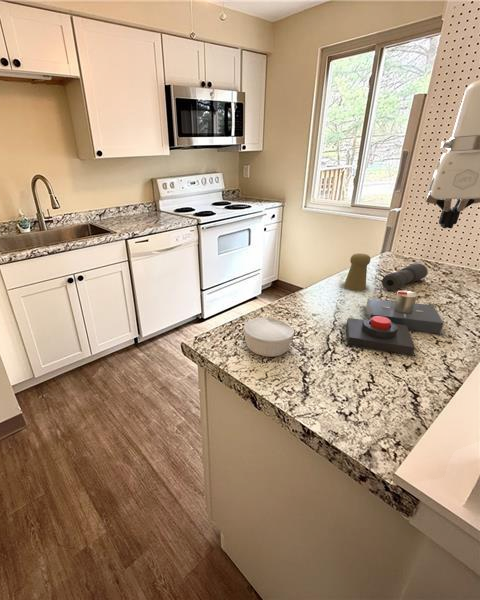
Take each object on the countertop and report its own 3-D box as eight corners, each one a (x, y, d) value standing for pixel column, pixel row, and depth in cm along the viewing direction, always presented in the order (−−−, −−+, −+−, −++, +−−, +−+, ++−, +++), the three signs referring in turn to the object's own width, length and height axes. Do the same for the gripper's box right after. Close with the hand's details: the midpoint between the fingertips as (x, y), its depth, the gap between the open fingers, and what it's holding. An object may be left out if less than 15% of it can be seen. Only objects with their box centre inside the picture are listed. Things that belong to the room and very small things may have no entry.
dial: (410, 307, 80) (415, 290, 78) (414, 314, 77) (419, 296, 75) (391, 305, 82) (396, 288, 80) (394, 311, 79) (398, 294, 77)
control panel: (429, 315, 81) (433, 304, 80) (439, 334, 74) (444, 322, 72) (365, 307, 88) (367, 297, 87) (368, 324, 80) (371, 313, 79)
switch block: (404, 333, 75) (408, 318, 74) (412, 355, 68) (417, 340, 66) (346, 324, 81) (349, 311, 79) (347, 345, 73) (350, 330, 71)
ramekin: (299, 343, 75) (301, 325, 73) (279, 366, 69) (282, 346, 66) (255, 330, 83) (257, 312, 81) (234, 349, 76) (235, 330, 74)
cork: (342, 282, 104) (348, 251, 99) (363, 283, 102) (370, 251, 97) (345, 290, 99) (351, 257, 94) (367, 291, 97) (375, 257, 92)
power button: (388, 323, 73) (389, 317, 73) (390, 331, 70) (392, 324, 70) (369, 321, 75) (371, 314, 74) (371, 328, 72) (372, 322, 71)
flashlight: (397, 293, 94) (401, 277, 91) (378, 288, 98) (381, 272, 96) (425, 281, 99) (430, 265, 97) (406, 276, 104) (410, 261, 101)
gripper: (432, 148, 69) (410, 230, 77) (529, 141, 62) (494, 231, 70) (424, 147, 75) (404, 223, 83) (512, 140, 68) (482, 224, 76)
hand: (446, 226), depth 76 cm, fingers closed
